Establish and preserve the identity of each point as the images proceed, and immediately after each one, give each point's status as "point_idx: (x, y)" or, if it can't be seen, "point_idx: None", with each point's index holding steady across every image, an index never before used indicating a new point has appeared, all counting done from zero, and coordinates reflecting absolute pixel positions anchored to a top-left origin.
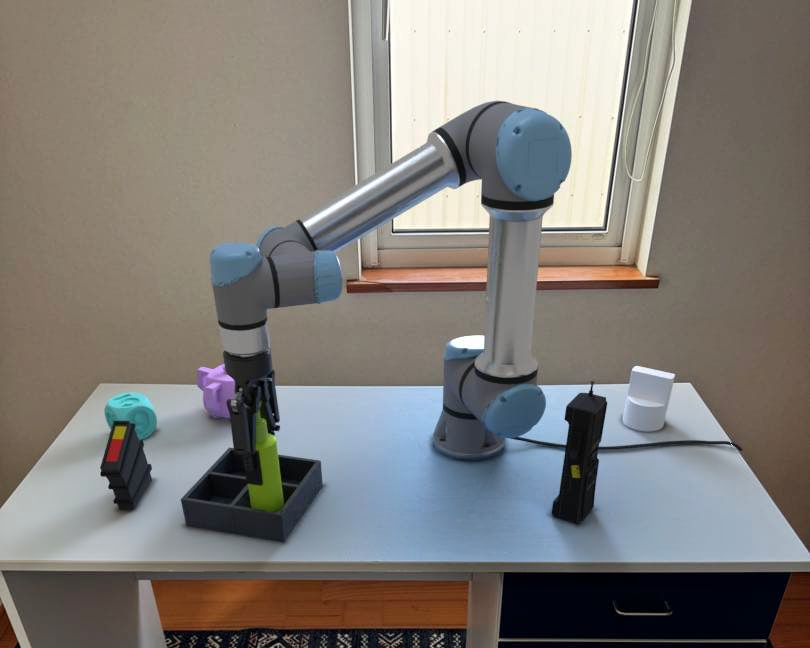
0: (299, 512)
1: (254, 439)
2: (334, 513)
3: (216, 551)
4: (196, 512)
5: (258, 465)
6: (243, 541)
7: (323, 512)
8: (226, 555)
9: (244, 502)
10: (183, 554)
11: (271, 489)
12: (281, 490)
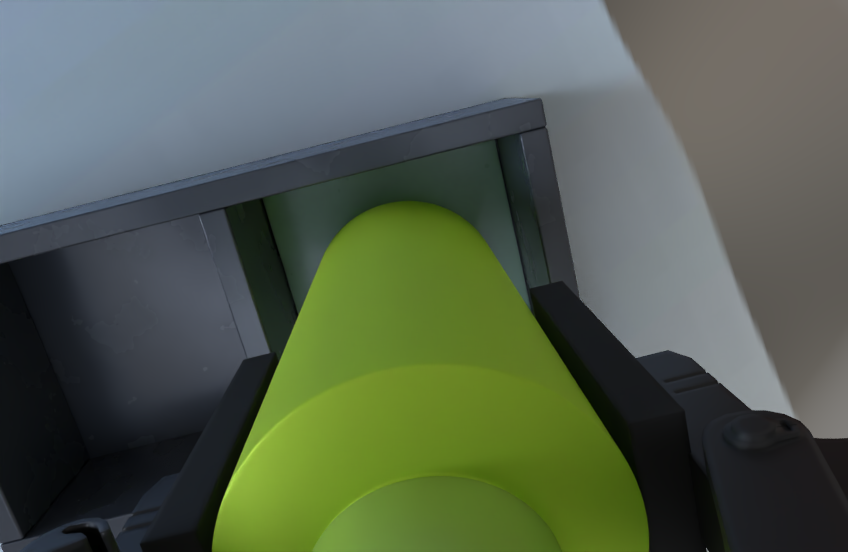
0: (300, 151)
1: (793, 540)
2: (159, 15)
3: (695, 327)
4: None
5: (621, 345)
6: (584, 274)
7: (186, 76)
8: (702, 272)
9: None
10: None
11: (469, 243)
12: (369, 227)
